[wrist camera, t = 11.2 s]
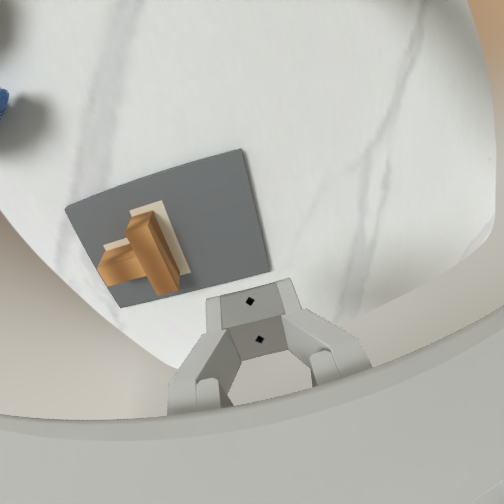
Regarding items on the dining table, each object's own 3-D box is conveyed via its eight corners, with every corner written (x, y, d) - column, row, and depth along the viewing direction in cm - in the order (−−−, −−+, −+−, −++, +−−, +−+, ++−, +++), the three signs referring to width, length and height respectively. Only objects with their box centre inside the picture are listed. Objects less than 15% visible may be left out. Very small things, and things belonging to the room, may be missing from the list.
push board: (240, 148, 34) (241, 150, 33) (268, 267, 44) (270, 271, 43) (67, 206, 34) (64, 209, 33) (121, 303, 44) (120, 308, 44)
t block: (152, 210, 36) (147, 225, 32) (180, 271, 41) (178, 290, 38) (93, 230, 36) (83, 246, 32) (124, 286, 41) (119, 305, 38)
